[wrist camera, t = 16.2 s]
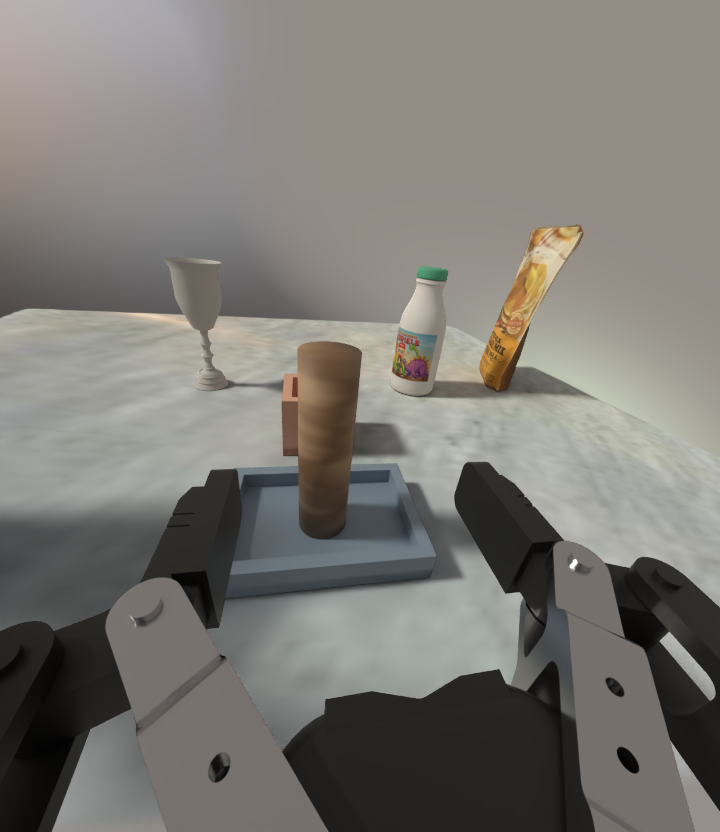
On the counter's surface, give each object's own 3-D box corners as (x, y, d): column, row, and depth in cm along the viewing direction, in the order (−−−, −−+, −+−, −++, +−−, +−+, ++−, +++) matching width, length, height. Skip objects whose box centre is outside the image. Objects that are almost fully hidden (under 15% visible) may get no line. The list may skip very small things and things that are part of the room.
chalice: (243, 385, 51) (232, 264, 42) (204, 397, 46) (182, 263, 37) (217, 372, 55) (202, 258, 46) (178, 382, 50) (152, 257, 41)
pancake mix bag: (504, 366, 74) (550, 229, 60) (523, 399, 57) (592, 221, 44) (475, 362, 75) (514, 226, 61) (485, 392, 58) (542, 216, 45)
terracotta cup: (283, 455, 36) (281, 401, 32) (285, 422, 42) (284, 373, 39) (348, 454, 37) (353, 401, 34) (341, 421, 44) (344, 375, 40)
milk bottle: (406, 376, 62) (425, 265, 52) (439, 390, 57) (468, 271, 48) (381, 385, 56) (398, 264, 47) (416, 401, 52) (443, 270, 42)
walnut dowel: (298, 541, 25) (297, 360, 17) (299, 504, 28) (298, 340, 21) (348, 537, 25) (367, 362, 18) (342, 502, 29) (356, 342, 21)
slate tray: (208, 600, 21) (202, 577, 20) (236, 488, 30) (234, 468, 29) (429, 577, 24) (436, 556, 23) (393, 481, 33) (396, 463, 32)
